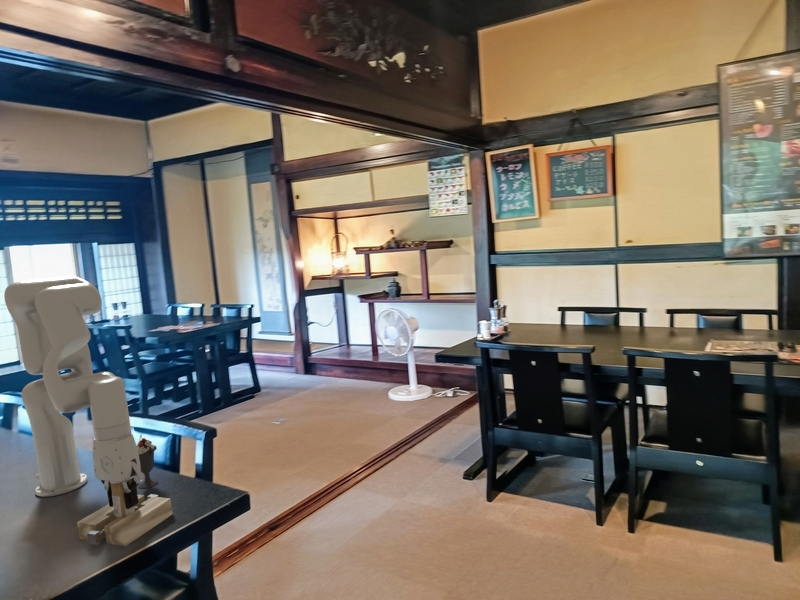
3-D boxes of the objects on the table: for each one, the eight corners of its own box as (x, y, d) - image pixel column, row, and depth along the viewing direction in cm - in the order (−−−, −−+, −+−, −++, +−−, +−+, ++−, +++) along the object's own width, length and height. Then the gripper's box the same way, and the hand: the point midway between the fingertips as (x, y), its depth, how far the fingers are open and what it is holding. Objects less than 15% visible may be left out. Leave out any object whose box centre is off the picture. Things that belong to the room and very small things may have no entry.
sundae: (144, 492, 145) (136, 438, 143) (130, 487, 149) (122, 435, 147) (166, 481, 151) (159, 430, 149) (152, 477, 154) (144, 427, 153)
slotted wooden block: (79, 538, 123) (77, 522, 123) (129, 508, 136) (127, 493, 136) (125, 546, 118) (122, 529, 118) (172, 514, 131) (170, 498, 131)
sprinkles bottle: (138, 526, 127) (131, 471, 125) (116, 533, 124) (109, 477, 123) (135, 518, 131) (129, 465, 129) (114, 525, 128) (107, 471, 127)
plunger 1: (88, 543, 119) (86, 533, 119) (114, 527, 125) (112, 517, 125) (96, 544, 118) (94, 534, 118) (122, 528, 125) (120, 518, 124)
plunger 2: (130, 516, 130) (129, 507, 129) (152, 503, 136) (151, 494, 136) (137, 518, 129) (136, 508, 129) (159, 504, 135) (158, 495, 135)
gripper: (71, 434, 124) (84, 509, 126) (126, 438, 118) (138, 517, 120) (100, 423, 131) (111, 494, 133) (153, 426, 125) (163, 500, 127)
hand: (124, 504), depth 127 cm, fingers closed on sprinkles bottle, 4 cm apart
